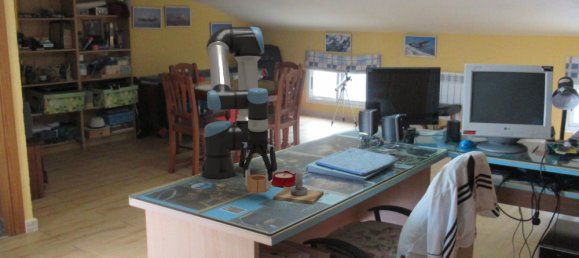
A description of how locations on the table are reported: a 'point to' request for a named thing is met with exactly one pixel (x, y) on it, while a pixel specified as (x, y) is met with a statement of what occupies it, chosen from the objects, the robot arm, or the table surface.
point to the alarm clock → (283, 179)
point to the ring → (256, 184)
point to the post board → (304, 199)
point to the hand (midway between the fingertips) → (257, 186)
